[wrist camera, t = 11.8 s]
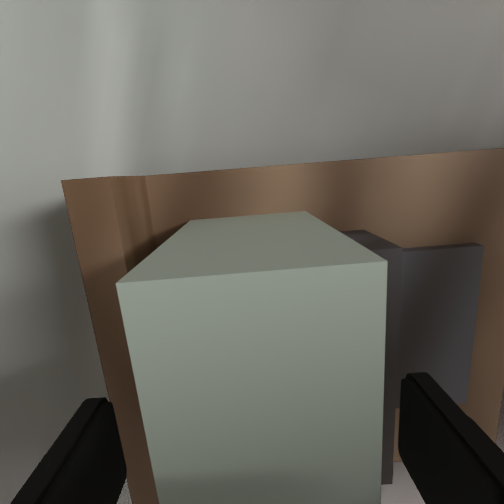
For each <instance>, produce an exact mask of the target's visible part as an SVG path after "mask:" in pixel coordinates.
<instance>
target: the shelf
mask: <svg viewBox="0 0 504 504" xmlns="http://www.w3.org/2000/svg"><path fill="white" fill-rule="evenodd" d="M61 183H62V188H63V192H64V197H65V201H66V206H67V210H68V215H69V219H70V224H71V228H72V233H73V237H74V242H75V246H76V251H77V256H78V260H79V265H80V269H81V274H82V278H83V283H84V287H85V292H86V296H87V301H88V305H89V310H90V314H91V319H92V323H93V328H94V333H95V337H96V342H97V346H98V351H99V355H100V360H101V364H102V369H103V373H104V378H105V382H106V387H107V391H108V396H109V401H110V402H112V404H113V407H114V412H115V417H116V421H117V426H118V430H119V435H120V439H121V444H122V449H123V453H124V458H125V462H126V467H127V474H126V478H127V482H128V487H129V491H130V496H131V500H132V504H159V500H158V495H157V490H156V485H155V480H154V475H153V470H152V465H151V460H150V455H149V450H148V445H147V440H146V434H145V429H144V424H143V419H142V414H141V409H140V404H139V399H138V394H137V389H136V384H135V379H134V374H133V369H132V364H131V359H130V354H129V349H128V344H127V339H126V333H125V328H124V323H123V318H122V313H121V308H120V303H119V298H118V293H117V288H116V283H117V282H118V281H119V280H120V279H121V278H123V277H124V276H125V275H126V274H127V273H129V272H130V271H131V270H132V269H133V268H134V267H136V266H137V265H138V264H139V263H140V262H142V261H143V260H144V259H145V258H146V257H147V256H149V255H150V254H151V253H152V252H153V251H155V250H156V249H157V248H158V247H159V246H160V245H162V244H163V243H164V242H165V241H166V240H168V239H169V238H170V237H171V236H172V235H174V234H175V233H176V232H177V231H178V230H179V229H181V228H182V227H183V226H184V225H185V224H187V223H188V222H189V221H190V220H200V219H212V218H224V217H237V216H249V215H261V214H273V213H285V212H298V211H306V212H308V213H310V214H311V215H313V216H315V217H316V218H318V219H319V220H321V221H323V222H324V223H326V224H328V225H329V226H331V227H333V228H334V229H336V230H338V231H339V232H341V233H342V234H344V235H346V236H347V237H349V238H351V239H352V240H354V241H356V242H357V243H359V244H360V245H362V246H364V247H365V248H367V249H369V250H370V251H372V252H374V253H375V254H377V255H378V256H380V257H382V258H383V259H385V260H387V261H388V264H387V298H386V332H385V367H384V401H383V436H382V470H381V485H383V484H392V479H393V462H401V461H402V459H401V457H400V455H399V451H398V431H399V411H400V390H401V380H402V379H403V378H406V375H407V374H408V373H417V372H427V373H428V374H429V375H430V376H431V377H432V378H433V379H434V380H435V381H436V382H437V383H438V384H439V385H440V387H441V388H442V389H443V390H444V391H445V392H446V393H447V394H448V395H449V396H450V397H451V398H452V400H453V401H454V402H455V403H456V404H457V405H458V406H459V407H460V408H461V409H462V410H463V412H464V413H465V414H466V415H467V416H469V417H470V418H471V419H473V420H474V421H475V422H476V423H477V424H478V426H479V427H480V428H481V429H482V430H483V431H484V432H485V433H486V434H487V435H488V436H489V437H490V439H491V440H492V441H493V442H494V443H495V444H496V438H497V431H498V424H499V417H500V410H501V403H502V396H503V389H504V148H497V149H484V150H472V151H459V152H446V153H433V154H420V155H407V156H394V157H382V158H369V159H356V160H343V161H330V162H317V163H304V164H292V165H279V166H266V167H253V168H240V169H227V170H214V171H202V172H189V173H176V174H163V175H150V176H112V177H97V178H84V179H72V180H61Z"/></svg>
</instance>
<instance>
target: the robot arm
mask: <svg viewBox="0 0 504 504" xmlns="http://www.w3.org/2000/svg"><path fill="white" fill-rule="evenodd" d="M398 451H399V455H400V457H401V459H402V461H403V463H404V465H405V467H406V469H407V471H408V472H409V474H410V476H411V478H412V480H413V481H414V483H415V485H416V487H417V489H418V491H419V492H420V494H421V496H422V498H423V500H424V502H425V503H426V504H504V453H503V451H502V450H501V449H500V448H499V447H498V446H497V445H496V444H495V443H494V442H493V441H492V440H491V439H490V437H489V436H488V435H487V434H486V433H485V432H484V431H483V430H482V429H481V428H480V427H479V426H478V424H477V423H476V422H475V421H474V420H473V419H471V418H470V417H469V416H467V415H466V414H465V413H464V412H463V410H462V409H461V408H460V407H459V406H458V405H457V404H456V403H455V402H454V401H453V400H452V398H451V397H450V396H449V395H448V394H447V393H446V392H445V391H444V390H443V389H442V388H441V387H440V385H439V384H438V383H437V382H436V381H435V380H434V379H433V378H432V377H431V376H430V375H429V374H428V373H427V372H417V373H408V374H407V375H406V378H403V379H402V380H401V390H400V411H399V431H398ZM126 474H127V467H126V462H125V458H124V453H123V449H122V444H121V439H120V435H119V430H118V426H117V421H116V417H115V412H114V407H113V404H112V402H108V400H107V399H106V398H104V397H103V398H90V399H86V400H85V401H84V402H83V403H82V404H81V406H80V407H79V408H78V410H77V411H76V413H75V414H74V415H73V417H72V418H71V420H70V421H69V423H68V424H67V425H66V427H65V428H64V430H63V431H62V432H61V434H60V435H59V437H58V438H57V439H56V441H55V442H54V444H53V445H52V446H51V448H50V449H49V451H48V452H47V453H46V455H45V456H44V457H43V459H42V460H41V461H40V463H39V464H38V466H37V467H36V468H35V470H34V471H33V473H32V474H31V475H30V477H29V478H28V480H27V481H26V482H25V484H24V485H23V487H22V488H21V489H20V491H19V492H18V494H17V495H16V497H15V498H14V499H13V501H12V502H11V504H116V503H117V501H118V498H119V496H120V493H121V491H122V488H123V485H124V483H125V480H126Z"/></svg>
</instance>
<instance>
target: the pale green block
mask: <svg viewBox="0 0 504 504" xmlns="http://www.w3.org/2000/svg"><path fill="white" fill-rule="evenodd" d="M387 264H388V261H387V260H385V259H383V258H382V257H380V256H378V255H377V254H375V253H374V252H372V251H370V250H369V249H367V248H365V247H364V246H362V245H360V244H359V243H357V242H356V241H354V240H352V239H351V238H349V237H347V236H346V235H344V234H342V233H341V232H339V231H338V230H336V229H334V228H333V227H331V226H329V225H328V224H326V223H324V222H323V221H321V220H319V219H318V218H316V217H315V216H313V215H311V214H310V213H308V212H306V211H298V212H285V213H273V214H261V215H249V216H237V217H224V218H212V219H200V220H190V221H189V222H188V223H187V224H185V225H184V226H183V227H182V228H181V229H179V230H178V231H177V232H176V233H175V234H174V235H172V236H171V237H170V238H169V239H168V240H166V241H165V242H164V243H163V244H162V245H160V246H159V247H158V248H157V249H156V250H155V251H153V252H152V253H151V254H150V255H149V256H147V257H146V258H145V259H144V260H143V261H142V262H140V263H139V264H138V265H137V266H136V267H134V268H133V269H132V270H131V271H130V272H129V273H127V274H126V275H125V276H124V277H123V278H121V279H120V280H119V281H118V282H117V283H116V288H117V293H118V298H119V303H120V308H121V313H122V318H123V323H124V328H125V333H126V339H127V344H128V349H129V354H130V359H131V364H132V369H133V374H134V379H135V384H136V389H137V394H138V399H139V404H140V409H141V414H142V419H143V424H144V429H145V434H146V440H147V445H148V450H149V455H150V460H151V465H152V470H153V475H154V480H155V485H156V490H157V495H158V500H159V504H381V470H382V436H383V401H384V367H385V332H386V298H387Z"/></svg>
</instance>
